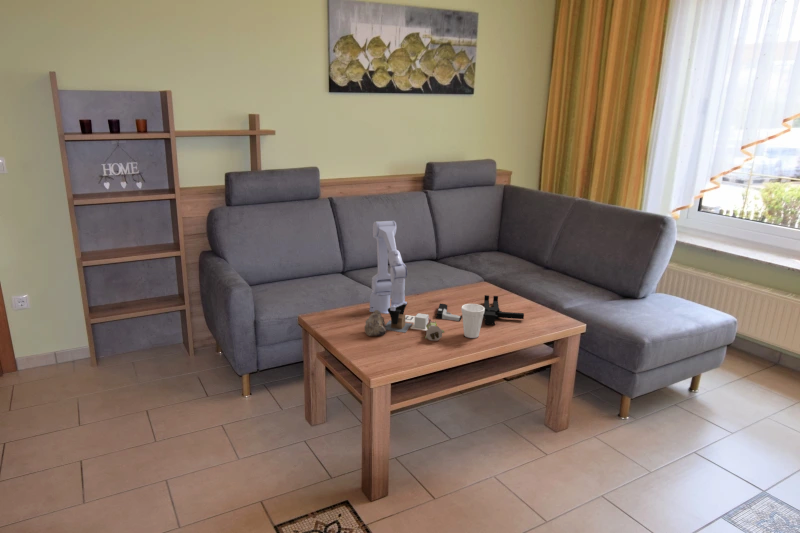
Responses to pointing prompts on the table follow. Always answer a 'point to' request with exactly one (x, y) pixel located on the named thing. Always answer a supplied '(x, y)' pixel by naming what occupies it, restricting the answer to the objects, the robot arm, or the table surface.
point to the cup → (472, 319)
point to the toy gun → (446, 313)
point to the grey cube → (421, 321)
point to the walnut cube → (399, 322)
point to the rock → (375, 324)
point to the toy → (497, 312)
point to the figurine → (433, 331)
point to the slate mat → (404, 329)
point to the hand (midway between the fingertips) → (397, 320)
